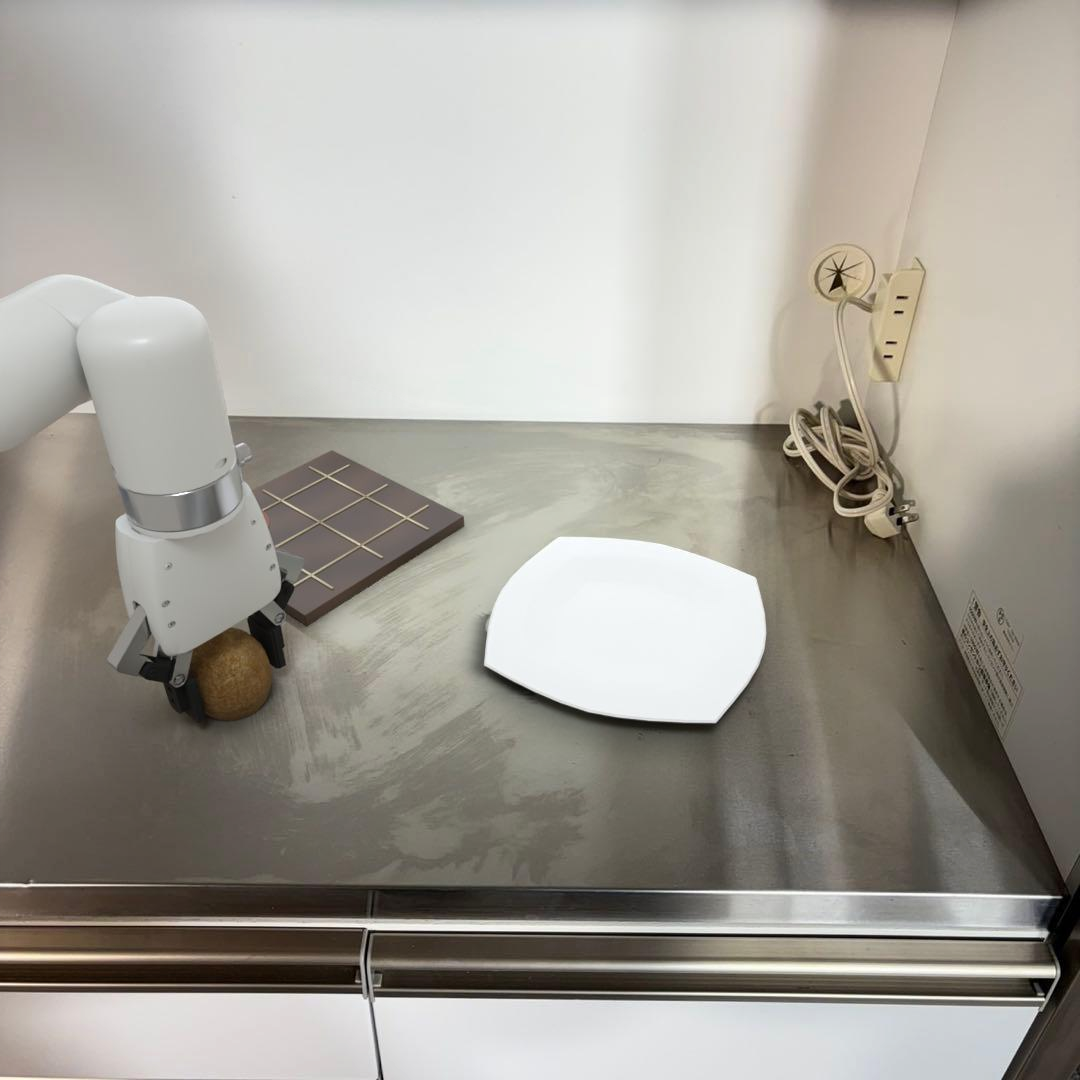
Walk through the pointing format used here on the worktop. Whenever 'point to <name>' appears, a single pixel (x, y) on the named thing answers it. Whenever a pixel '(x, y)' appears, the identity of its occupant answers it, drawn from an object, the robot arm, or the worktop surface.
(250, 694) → the fruit
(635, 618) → the plate
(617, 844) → the worktop surface
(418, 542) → the board
